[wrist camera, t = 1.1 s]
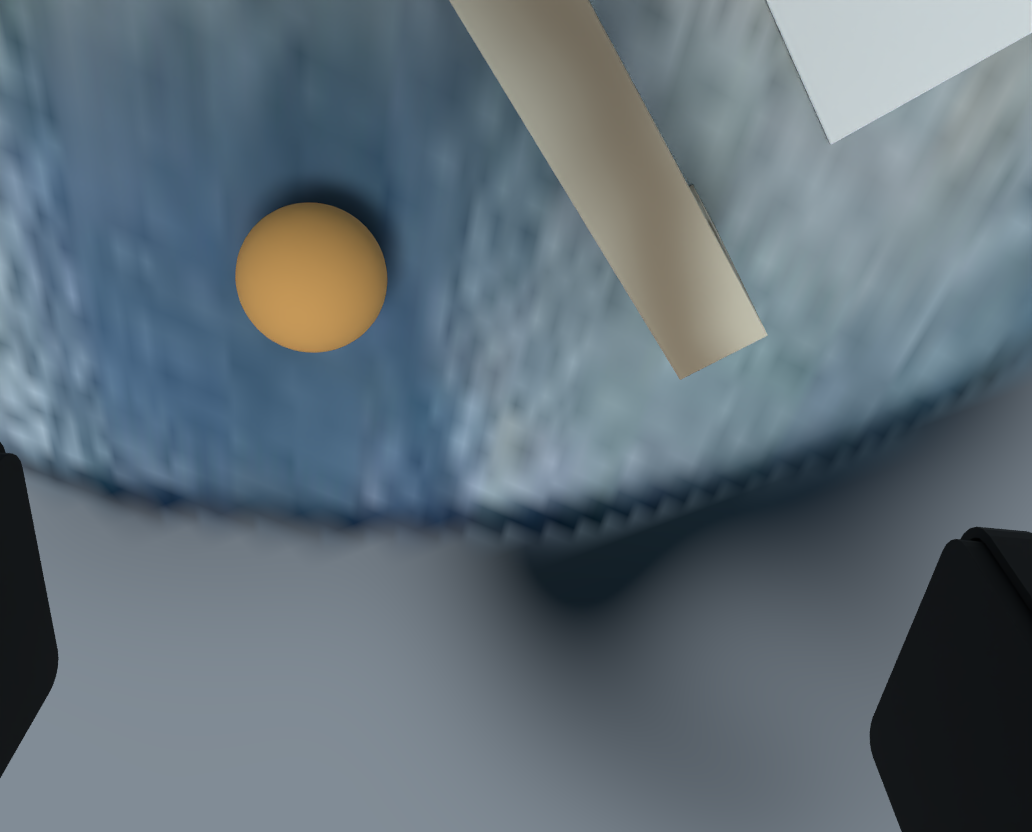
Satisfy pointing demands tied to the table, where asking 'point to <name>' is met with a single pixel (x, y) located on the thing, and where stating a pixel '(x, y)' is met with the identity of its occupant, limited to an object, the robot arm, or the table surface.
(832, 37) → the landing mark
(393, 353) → the table surface
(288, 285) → the ball
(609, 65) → the bridge
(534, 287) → the table surface
